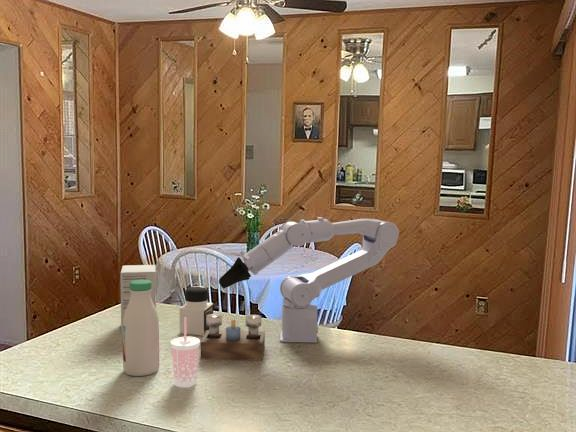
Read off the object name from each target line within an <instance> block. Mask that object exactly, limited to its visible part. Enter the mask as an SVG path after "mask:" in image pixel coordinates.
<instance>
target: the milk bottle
mask: <svg viewBox="0 0 576 432" xmlns="http://www.w3.org/2000/svg"><path fill="white" fill-rule="evenodd" d="M151 286H152V285H151V281H149V280H134V281H131V282H130V293H131V297H130V301H129V304H128V306H127V308H126V310H125V313H124V317H123V334H122V369H123V372H124V373H125V374H126V375H128V376H133V377H144V376H150V375H153V374H155V373H156V372H157V371H158V370H159V368H160V323H159V322H160V320H159V319H160V318H159V314H158V311H157V310H158V309H157V307H156V308H155V306H154V304H153V302H152V299H151V295H150V292H151V291H152V290H151Z"/></svg>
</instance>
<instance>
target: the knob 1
mask: <svg viewBox="0 0 576 432" xmlns="http://www.w3.org/2000/svg"><path fill="white" fill-rule="evenodd" d="M206 325H207V326H209V338H210V339H219V330H220V326H222V325H223V315H222V314H219V313H213V314H209V315H207V316H206Z"/></svg>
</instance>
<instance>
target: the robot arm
mask: <svg viewBox="0 0 576 432" xmlns="http://www.w3.org/2000/svg"><path fill="white" fill-rule="evenodd" d="M353 234H355V235H356V234H360V235H362V246H361V248H360V249H361V250H358V251H356V252H354V253H352V254H350V255H348V256H346V257H343V258H341V259H339V260H337V261H335V262H332V263H330V264H328V265H326V266H324V267H322V268H319V269H318V270H315V271H312V272H311V273H309V272H308V273H302V274H300V275H296V276H293V275H289V276H287V277H284V279H283V280H282V281H281V283H280V287H279V291H280V294H281V296H282V297H283V301H282V305H281V306H282V309H281V310H282V311H281V313H282V314H281V316H282V317H281V330H280V337H279V342H281V343H282V342H283V343H317V341H318V338H317V337H318V334H319V326H318V306H317V305H316V304H311V303H312V302H313V301H314V299H315V300H316V299H317V298H318V297H320V295H321V292H322V291H324V290H325V289H328V288H330V287H332V286H333V285H336V284H338V283H340V282H343V281H344V280H346V279H348V278H350V277H353V276H354V275H357V274H359V273H360V272H363V271H365V270H368V269H369V268H372V267H373V266H376V265H378V264H379V263H380V262H381V261H382V259H383V258H384V257H385V255H386V254H387V253H389V251H390V250H391V249H392V248H394V247H395V246H396V245H397V242H398V239H399V234H400V231H399V228H398V226H397V224H395V223H394V222H391V221H385V220H379V219H378V218H357V219H350V220H344V221H338V222H331V221H330V220H328V219H327V218H324V217H322V216H321V217H319V216H318V217H317V218H316V219H313V220H305V219H300V220H299V222H295V221H287V222H284V223H282V224H281V226H280V228H279V230H278V231H277V232H275V233H273V234H272V235H270V236H269V237H268V238H266V239H264V240H263V241H261V242H260V243H259V244H257V245H255V247H252V249H250V250H248V251H247V252H246V253H245V252H244V251H243V250H240V251H239V254H240V255H241V257H240V256H239V257H237V258H236V260H235V261H234V263H233V264H232V266H230V268H229V269H228V270H227V271H226V272H225V273H224V274H223V275H222V276H221V277H220V278H219V280H218V284H219V285H220V286H221V288H222V289H227V288H229V287H231V286H232V285H234V284H237V283H240V282H243V281H249V280H250V278H251V277H252V275H251V274H253V275H254V276H257V275H258V274H259V273H260V271H262V270H263V269H265V268H266V267H268V266H269V265H270V264H272V263H273V262H275V261H276V260H278V259H279V258H281V257H282V256H283V255H285V254H286V253H287V252H289V251H290V250H291V249H293V248H294V246H295V247H302V246H304V245H305V244H308V243H309V244H311V243H319V242H326V241H327V242H328V241H330V240H331V238H333V237H334V236H339V235H353ZM241 258H242V259H241ZM250 272H251V274H250Z"/></svg>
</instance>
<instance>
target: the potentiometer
mask: <svg viewBox="0 0 576 432" xmlns="http://www.w3.org/2000/svg"><path fill="white" fill-rule="evenodd" d="M236 321H237V320H236V319H231V321H230V324H231V325H230V326H227V327H226V328H225V331H226V339H227V340H239V339H240V331H241V327H240V326H237V325H236V323H237V322H236Z"/></svg>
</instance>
